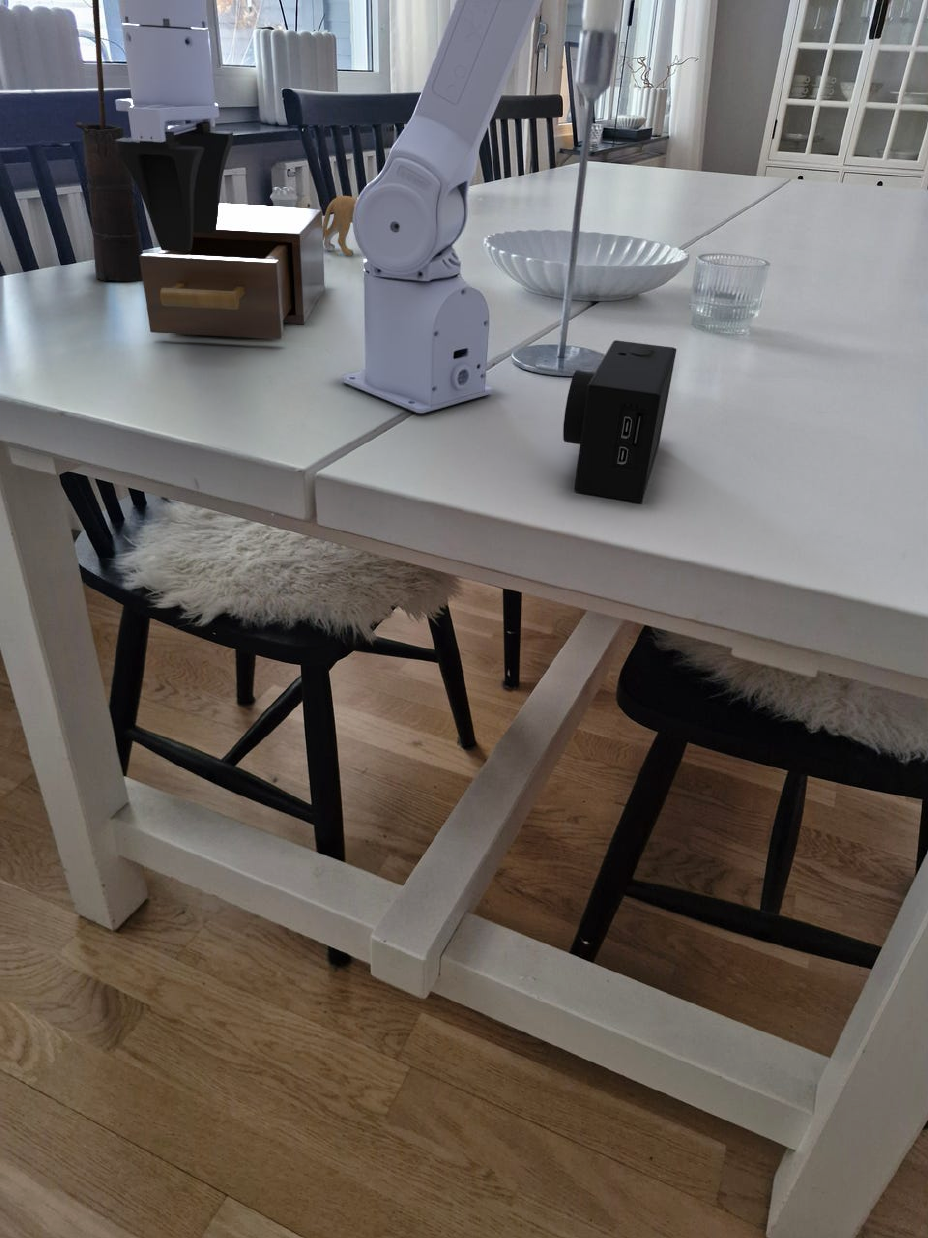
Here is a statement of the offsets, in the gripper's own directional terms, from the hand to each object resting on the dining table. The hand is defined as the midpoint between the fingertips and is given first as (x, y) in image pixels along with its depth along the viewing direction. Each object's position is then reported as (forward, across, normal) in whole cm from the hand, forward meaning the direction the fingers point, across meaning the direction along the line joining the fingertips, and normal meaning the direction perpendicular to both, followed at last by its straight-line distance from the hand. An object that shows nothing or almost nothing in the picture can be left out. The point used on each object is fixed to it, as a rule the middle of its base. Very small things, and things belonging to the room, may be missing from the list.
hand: (190, 240), depth 67 cm
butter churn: (+10, -27, -17) cm, 33 cm away
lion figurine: (+10, -49, +10) cm, 51 cm away
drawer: (+8, -9, 0) cm, 13 cm away
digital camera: (+10, +18, +32) cm, 37 cm away
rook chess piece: (+10, -42, 0) cm, 43 cm away
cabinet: (+9, -20, 0) cm, 22 cm away
